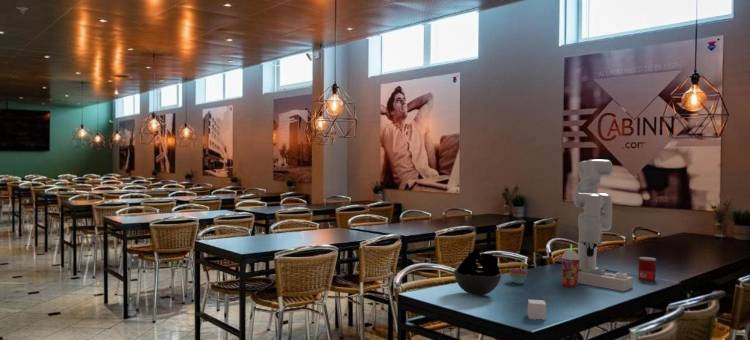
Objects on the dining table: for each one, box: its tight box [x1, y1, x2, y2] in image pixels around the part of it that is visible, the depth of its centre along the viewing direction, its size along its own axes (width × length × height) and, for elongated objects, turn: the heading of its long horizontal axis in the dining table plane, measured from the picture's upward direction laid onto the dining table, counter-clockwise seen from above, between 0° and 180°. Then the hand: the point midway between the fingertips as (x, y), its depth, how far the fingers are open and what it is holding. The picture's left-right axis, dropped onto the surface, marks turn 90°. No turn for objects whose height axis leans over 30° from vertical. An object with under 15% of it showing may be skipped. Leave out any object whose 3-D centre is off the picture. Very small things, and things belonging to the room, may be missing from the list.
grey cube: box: [526, 299, 547, 321], centre depth 222 cm, size 6×6×6 cm
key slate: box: [593, 268, 606, 275], centre depth 286 cm, size 4×4×4 cm
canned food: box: [637, 256, 657, 282], centre depth 302 cm, size 8×8×11 cm
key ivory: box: [615, 271, 628, 279], centre depth 279 cm, size 4×4×4 cm
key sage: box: [582, 267, 594, 273], centre depth 290 cm, size 4×4×4 cm
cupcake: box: [509, 259, 528, 284], centre depth 283 cm, size 9×8×12 cm
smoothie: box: [561, 244, 580, 289], centre depth 279 cm, size 8×8×20 cm
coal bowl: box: [453, 249, 502, 297], centre depth 254 cm, size 20×20×19 cm
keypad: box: [577, 270, 634, 292], centre depth 284 cm, size 23×11×5 cm, turn 46°
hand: (590, 256), depth 290 cm, fingers closed
